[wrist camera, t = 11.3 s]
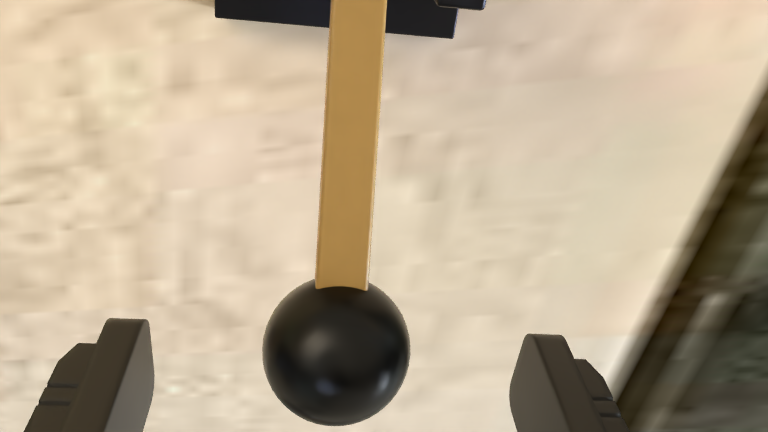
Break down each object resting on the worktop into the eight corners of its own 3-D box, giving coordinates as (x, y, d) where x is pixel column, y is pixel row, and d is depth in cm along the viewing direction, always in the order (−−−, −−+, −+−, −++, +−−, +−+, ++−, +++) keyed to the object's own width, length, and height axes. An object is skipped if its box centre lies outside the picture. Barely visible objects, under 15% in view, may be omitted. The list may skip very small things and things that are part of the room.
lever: (394, 392, 16) (416, 454, 13) (263, 389, 16) (253, 454, 12) (434, -161, 14) (470, -244, 11) (291, -180, 14) (286, -271, 11)
